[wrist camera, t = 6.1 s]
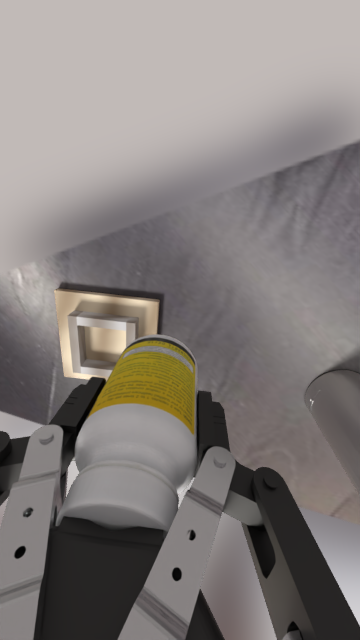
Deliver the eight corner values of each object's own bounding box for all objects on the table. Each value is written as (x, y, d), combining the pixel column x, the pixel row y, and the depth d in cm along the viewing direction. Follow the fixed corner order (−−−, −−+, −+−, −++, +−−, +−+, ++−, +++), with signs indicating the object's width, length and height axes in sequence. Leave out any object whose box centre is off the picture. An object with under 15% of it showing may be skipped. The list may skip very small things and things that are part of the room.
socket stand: (159, 299, 32) (156, 307, 29) (154, 383, 38) (150, 396, 35) (58, 288, 32) (45, 294, 30) (67, 372, 38) (57, 384, 35)
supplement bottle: (112, 335, 16) (4, 488, 7) (192, 328, 15) (189, 483, 6) (129, 399, 18) (63, 580, 9) (201, 394, 17) (207, 583, 8)
